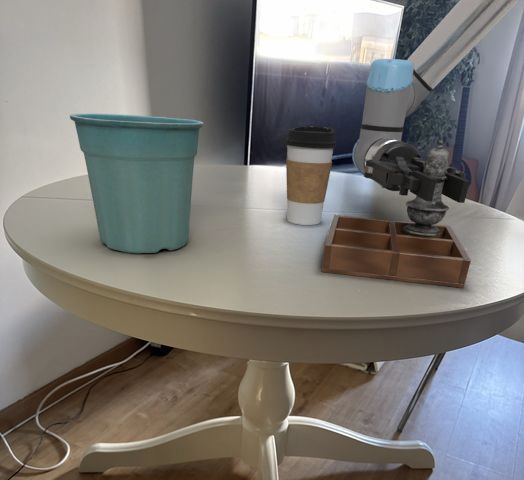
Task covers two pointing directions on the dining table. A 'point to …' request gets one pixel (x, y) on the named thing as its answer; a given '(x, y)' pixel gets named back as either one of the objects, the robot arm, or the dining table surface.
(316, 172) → the coffee cup
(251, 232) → the dining table surface
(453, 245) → the tray
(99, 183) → the flower pot
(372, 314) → the dining table surface
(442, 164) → the salt shaker
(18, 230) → the dining table surface
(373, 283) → the dining table surface
